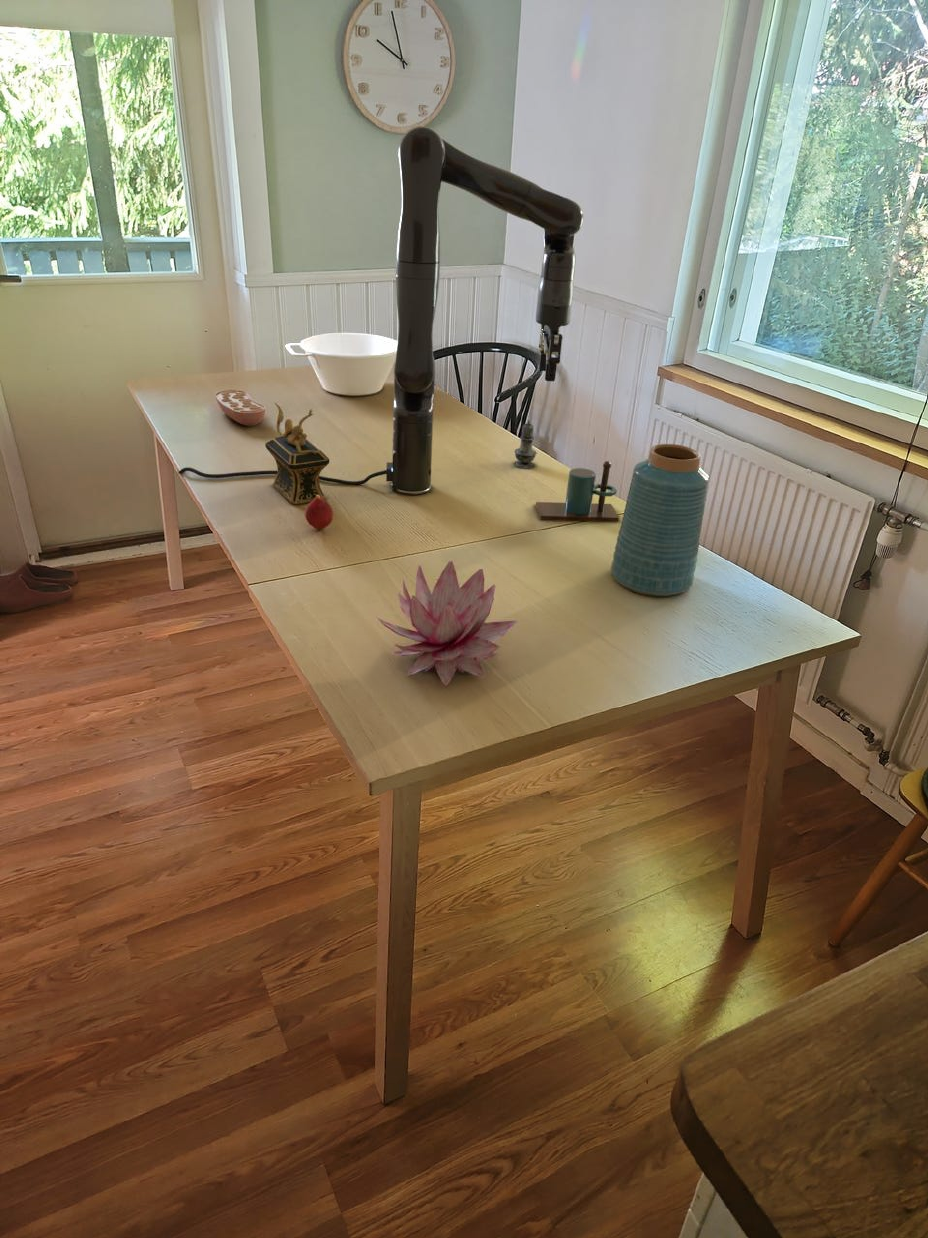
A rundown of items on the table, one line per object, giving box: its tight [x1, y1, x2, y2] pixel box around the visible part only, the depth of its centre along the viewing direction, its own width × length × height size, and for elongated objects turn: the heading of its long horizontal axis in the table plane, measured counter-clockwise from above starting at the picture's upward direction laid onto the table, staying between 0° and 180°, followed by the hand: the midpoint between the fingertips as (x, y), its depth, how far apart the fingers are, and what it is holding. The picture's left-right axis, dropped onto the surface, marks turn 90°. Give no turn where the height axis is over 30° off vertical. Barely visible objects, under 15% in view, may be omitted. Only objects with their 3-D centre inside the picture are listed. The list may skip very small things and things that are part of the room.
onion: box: [304, 495, 334, 531], centre depth 177 cm, size 6×6×8 cm
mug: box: [564, 467, 618, 515], centre depth 192 cm, size 11×6×9 cm, turn 94°
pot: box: [285, 332, 398, 397], centre depth 268 cm, size 40×32×14 cm
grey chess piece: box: [513, 419, 538, 470], centre depth 217 cm, size 6×6×12 cm
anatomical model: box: [214, 389, 266, 427], centre depth 238 cm, size 23×10×5 cm, turn 32°
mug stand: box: [535, 460, 620, 523], centre depth 191 cm, size 18×8×13 cm, turn 94°
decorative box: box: [264, 402, 330, 505], centre depth 192 cm, size 20×10×20 cm, turn 31°
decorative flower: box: [375, 560, 518, 686], centre depth 134 cm, size 21×21×15 cm
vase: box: [610, 443, 710, 597], centre depth 161 cm, size 16×16×27 cm
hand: (546, 375), depth 190 cm, fingers open, 8 cm apart
